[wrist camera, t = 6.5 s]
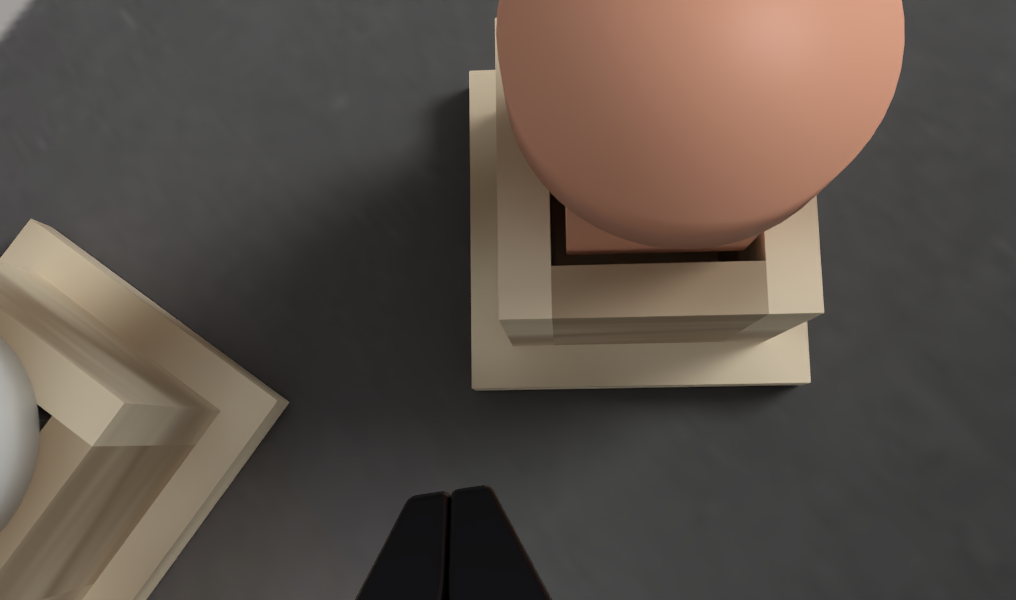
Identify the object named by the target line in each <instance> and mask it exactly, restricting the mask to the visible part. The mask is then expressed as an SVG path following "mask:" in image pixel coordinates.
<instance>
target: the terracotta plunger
mask: <svg viewBox="0 0 1016 600" xmlns="http://www.w3.org/2000/svg"><path fill="white" fill-rule="evenodd" d="M496 39H497V51H498V61H499V67H500V73H501V78H502V84H503V90H504V96H505V102H506V107H507V111H508V116H509V120H510V125H511V127H512V130H513V133H514V135H515V138H516V141H517V143H518V146H519V148H520V150H521V151H522V153H523V155H524V157H525V159H526V161H527V163H528V165H529V166H530V168H531V169H532V170H533V172H534V173H535V174H536V176H537V177H538V179H539V180H540V181H541V183H542V184H543V185H544V186H545V187H546V188H547V189H548V190H549V191H550V192H551V194H552V195H553V196H554V197H555V198H556V199H557V200H558V201H559V202H561V203H562V204H563V205H564V206H565V218H566V255H590V254H630V253H670V252H710V251H744V250H745V249H746V248H747V247H748V246H749V245H750V244H751V243H752V241H753V240H754V239H755V238H756V237H757V236H758V235H759V234H761V233H763V232H765V231H766V230H768V229H770V228H772V227H774V226H776V225H778V224H780V223H782V222H783V221H785V220H786V219H788V218H789V217H790V216H792V215H793V214H795V213H796V212H798V211H799V210H800V209H802V208H803V207H804V206H805V205H806V204H807V203H808V202H809V201H810V200H811V199H813V198H814V197H815V196H816V195H817V194H818V193H819V192H820V191H821V190H822V189H823V188H824V187H825V186H826V185H827V184H828V183H829V182H831V181H832V180H833V179H834V178H835V177H836V176H837V175H838V174H839V173H840V172H841V171H842V170H843V169H844V168H845V167H846V166H847V165H848V164H849V163H850V162H851V161H852V160H853V159H854V158H855V157H856V156H857V155H858V153H859V152H860V151H861V150H862V148H863V147H864V146H865V145H866V144H867V142H868V141H869V140H870V139H871V137H872V135H873V134H874V132H875V131H876V129H877V127H878V126H879V124H880V123H881V121H882V119H883V118H884V116H885V113H886V111H887V109H888V107H889V104H890V102H891V100H892V97H893V95H894V93H895V89H896V85H897V82H898V78H899V75H900V71H901V66H902V58H903V51H904V14H903V7H902V1H901V0H499V4H498V9H497V27H496Z"/></svg>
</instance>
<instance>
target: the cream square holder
mask: <svg viewBox="0 0 1016 600" xmlns="http://www.w3.org/2000/svg"><path fill="white" fill-rule="evenodd" d="M496 27H497V18H495V64H496V70H481V71H469V98H470V226H471V354H472V389H474V390H476V391H478V390H538V389H597V388H656V387H716V386H775V385H803V384H807V383H811V378H810V362H809V346H808V330H807V321H808V320H810V319H812V318H814V317H816V316H818V315H821V314H823V313H824V303H823V288H822V272H821V257H820V242H819V227H818V211H817V196H815V197H814V198H813V199H811V200H810V201H809V202H808V203H807V204H806V205H805V206H804V207H803V208H802V209H800V210H799V211H798V212H796V213H795V214H793V215H792V216H790V217H789V218H788V219H786V220H785V221H783V222H782V223H780V224H778V225H776V226H774V227H772V228H770V229H768V230H766V231H765V232H763V233H761V234H759V235H758V236H757V237H756V238H755V239H754V240H753V241H752V243H751V244H750V245H749V246H748V247H747V248H746V249H745V250H744V251H710V252H670V253H630V254H590V255H566V218H565V206H564V205H563V204H562V203H561V202H559V201H558V200H557V199H556V198H555V197H554V196H553V195H552V194H551V192H550V191H549V190H548V189H547V188H546V187H545V186H544V185H543V184H542V183H541V181H540V180H539V179H538V177H537V176H536V174H535V173H534V172H533V170H532V169H531V168H530V166H529V165H528V163H527V161H526V159H525V157H524V155H523V153H522V151H521V150H520V148H519V146H518V143H517V141H516V138H515V135H514V133H513V130H512V127H511V125H510V120H509V116H508V111H507V107H506V102H505V96H504V90H503V84H502V78H501V73H500V67H499V61H498V51H497V39H496Z"/></svg>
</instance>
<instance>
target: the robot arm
mask: <svg viewBox="0 0 1016 600" xmlns="http://www.w3.org/2000/svg"><path fill="white" fill-rule="evenodd" d="M355 600H552V598H551V597H550V595H549V593H548V591H547V589H546V587H545V585H544V584H543V582H542V580H541V578H540V576H539V574H538V572H537V570H536V569H535V567H534V565H533V563H532V561H531V559H530V557H529V556H528V554H527V552H526V550H525V548H524V546H523V544H522V542H521V541H520V539H519V537H518V535H517V533H516V531H515V529H514V527H513V526H512V524H511V522H510V520H509V518H508V516H507V514H506V513H505V511H504V509H503V507H502V505H501V503H500V501H499V499H498V498H497V496H496V494H495V492H494V490H493V489H492V488H491V487H490V486H487V485H483V486H476V487H469V488H462V489H457V490H455V491H453V492H452V495H451V496H450V494H449V493H447V492H443V491H442V492H435V493H428V494H421V495H415V496H412V497H411V498H410V499H408V501H407V502H406V504H405V505H404V507H403V509H402V511H401V513H400V515H399V517H398V519H397V521H396V523H395V524H394V526H393V528H392V530H391V532H390V534H389V536H388V538H387V540H386V542H385V544H384V545H383V547H382V549H381V551H380V553H379V555H378V557H377V559H376V561H375V563H374V565H373V566H372V568H371V570H370V572H369V574H368V576H367V578H366V580H365V582H364V584H363V586H362V587H361V589H360V591H359V593H358V595H357V597H356V599H355Z"/></svg>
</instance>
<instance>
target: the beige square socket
mask: <svg viewBox="0 0 1016 600" xmlns="http://www.w3.org/2000/svg"><path fill="white" fill-rule="evenodd" d="M0 337H1V338H2V339H3V340H4V341H5V342H6V343H7V344H8V345H9V347H10V348H11V349H12V350H13V351H14V352H15V354H16V355H17V357H18V358H19V360H20V362H21V363H22V365H23V366H24V368H25V370H26V372H27V375H28V377H29V379H30V381H31V384H32V387H33V390H34V394H35V397H36V401H37V404H38V405H39V406H40V407H42V408H43V409H44V410H45V411H47V412H48V413H49V414H51V415H52V417H51V418H50V419H49V421H48V422H47V423H46V425H45V426H44V427H43V429H42V430H41V431H40V437H39V447H38V455H37V460H36V464H35V469H34V473H33V476H32V478H31V481H30V484H29V487H28V490H27V492H26V494H25V496H24V498H23V500H22V502H21V504H20V506H19V508H18V509H17V511H16V512H15V514H14V515H13V517H12V518H11V520H10V521H9V523H8V524H7V525H6V526H5V527H4V529H3V530H2V531H1V532H0V600H147V598H148V597H149V596H150V594H151V593H152V591H153V590H154V589H155V587H156V586H157V584H158V583H159V582H160V580H161V579H162V578H163V576H164V575H165V573H166V572H167V571H168V569H169V568H170V567H171V565H172V564H173V562H174V561H175V560H176V558H177V557H178V556H179V554H180V553H181V551H182V550H183V549H184V547H185V546H186V544H187V543H188V542H189V540H190V539H191V538H192V536H193V535H194V533H195V532H196V531H197V529H198V528H199V527H200V525H201V524H202V522H203V521H204V520H205V518H206V517H207V516H208V514H209V513H210V511H211V510H212V509H213V507H214V506H215V504H216V503H217V502H218V500H219V499H220V498H221V496H222V495H223V493H224V492H225V491H226V489H227V488H228V487H229V485H230V484H231V482H232V481H233V480H234V478H235V477H236V476H237V474H238V473H239V471H240V470H241V469H242V467H243V466H244V464H245V463H246V462H247V460H248V459H249V458H250V456H251V455H252V453H253V452H254V451H255V449H256V448H257V447H258V445H259V444H260V442H261V441H262V440H263V438H264V437H265V436H266V434H267V433H268V431H269V430H270V429H271V427H272V426H273V424H274V423H275V422H276V420H277V419H278V418H279V416H280V415H281V413H282V412H283V411H284V409H285V408H286V407H287V405H288V404H289V401H287V400H286V399H284V398H283V397H282V396H280V395H279V394H278V393H276V392H275V391H274V390H272V389H271V388H270V387H268V386H267V385H265V384H264V383H263V382H261V381H260V380H259V379H257V378H256V377H255V376H253V375H252V374H251V373H249V372H248V371H246V370H245V369H244V368H242V367H241V366H240V365H238V364H237V363H236V362H234V361H233V360H232V359H230V358H229V357H227V356H226V355H225V354H223V353H222V352H221V351H219V350H218V349H217V348H215V347H214V346H213V345H211V344H210V343H208V342H207V341H206V340H204V339H203V338H202V337H200V336H199V335H198V334H196V333H195V332H194V331H192V330H191V329H189V328H188V327H187V326H185V325H184V324H183V323H181V322H180V321H179V320H177V319H176V318H175V317H173V316H172V315H170V314H169V313H168V312H166V311H165V310H164V309H162V308H161V307H160V306H158V305H157V304H156V303H154V302H153V301H151V300H150V299H149V298H147V297H146V296H145V295H143V294H142V293H141V292H139V291H138V290H137V289H135V288H134V287H132V286H131V285H130V284H128V283H127V282H126V281H124V280H123V279H122V278H120V277H119V276H118V275H116V274H115V273H113V272H112V271H111V270H109V269H108V268H107V267H105V266H104V265H103V264H101V263H100V262H99V261H97V260H96V259H94V258H93V257H92V256H90V255H89V254H88V253H86V252H85V251H84V250H82V249H81V248H79V247H78V246H77V245H75V244H74V243H73V242H71V241H70V240H69V239H67V238H66V237H65V236H63V235H62V234H60V233H59V232H58V231H56V230H55V229H54V228H52V227H50V226H48V225H45V224H43V223H40V222H38V221H35V220H33V219H30V220H29V222H28V223H27V224H26V226H25V227H24V228H23V229H22V231H21V232H20V233H19V235H18V236H17V237H16V239H15V240H14V241H13V242H12V244H11V245H10V246H9V248H8V249H7V250H6V252H5V253H4V254H3V255H2V257H1V258H0Z"/></svg>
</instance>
